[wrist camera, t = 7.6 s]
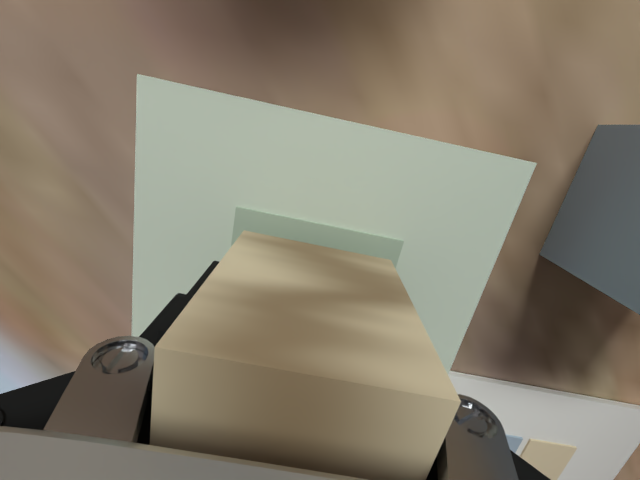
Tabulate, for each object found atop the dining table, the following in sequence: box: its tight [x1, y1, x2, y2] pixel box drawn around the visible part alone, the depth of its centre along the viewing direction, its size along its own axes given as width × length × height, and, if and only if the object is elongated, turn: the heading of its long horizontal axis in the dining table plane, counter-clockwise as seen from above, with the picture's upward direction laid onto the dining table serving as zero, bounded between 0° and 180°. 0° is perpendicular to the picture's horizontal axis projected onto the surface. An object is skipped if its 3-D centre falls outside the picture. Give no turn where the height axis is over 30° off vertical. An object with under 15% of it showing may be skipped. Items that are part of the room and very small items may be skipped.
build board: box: [132, 74, 537, 374], centre depth 13 cm, size 13×13×1 cm
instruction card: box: [448, 371, 640, 480], centre depth 16 cm, size 11×8×1 cm
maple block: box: [150, 230, 461, 480], centre depth 9 cm, size 5×5×6 cm
